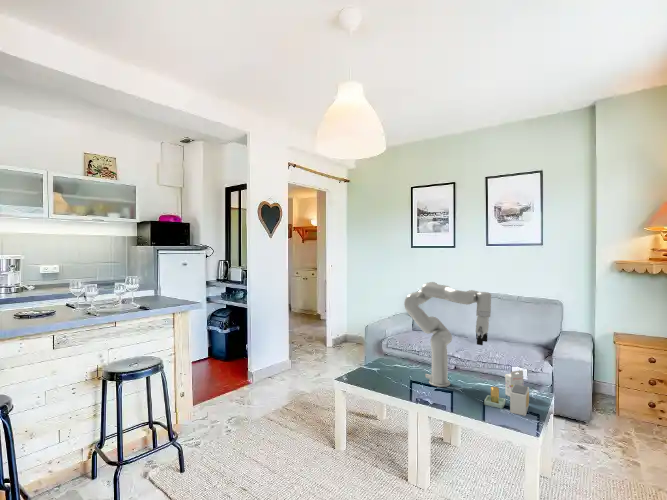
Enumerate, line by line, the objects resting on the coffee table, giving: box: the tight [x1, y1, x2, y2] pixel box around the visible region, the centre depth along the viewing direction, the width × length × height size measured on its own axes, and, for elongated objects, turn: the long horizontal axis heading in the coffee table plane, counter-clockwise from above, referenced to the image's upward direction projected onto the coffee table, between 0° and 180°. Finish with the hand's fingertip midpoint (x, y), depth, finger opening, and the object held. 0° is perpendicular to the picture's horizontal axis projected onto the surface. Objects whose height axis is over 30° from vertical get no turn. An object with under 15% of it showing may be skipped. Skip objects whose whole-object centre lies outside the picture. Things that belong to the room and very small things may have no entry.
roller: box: [490, 386, 500, 404], centre depth 197 cm, size 4×4×8 cm
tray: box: [483, 394, 507, 410], centre depth 197 cm, size 9×9×2 cm
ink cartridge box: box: [504, 369, 524, 397], centre depth 208 cm, size 9×5×15 cm, turn 105°
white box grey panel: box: [509, 384, 530, 417], centre depth 190 cm, size 7×14×11 cm, turn 146°
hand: (482, 343), depth 211 cm, fingers open, 9 cm apart
